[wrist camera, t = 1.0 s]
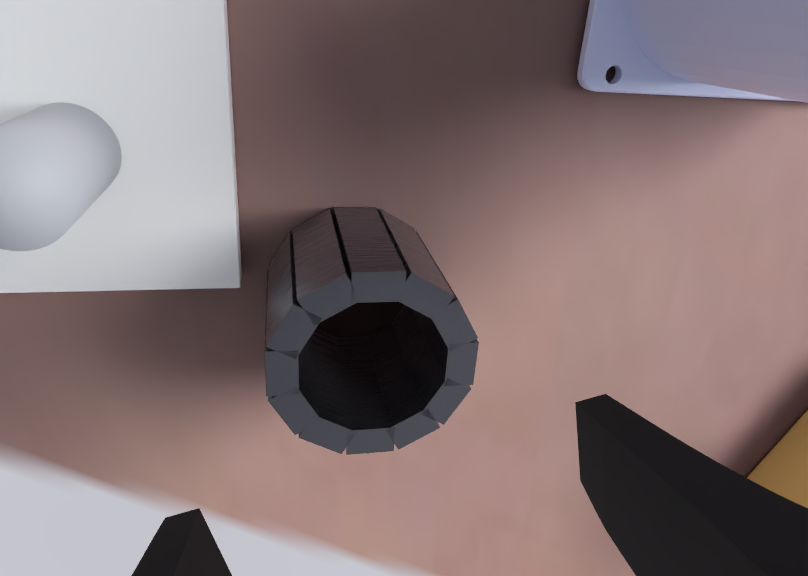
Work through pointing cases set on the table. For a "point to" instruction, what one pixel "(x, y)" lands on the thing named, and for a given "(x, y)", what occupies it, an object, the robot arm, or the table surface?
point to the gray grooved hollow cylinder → (363, 355)
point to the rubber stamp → (787, 465)
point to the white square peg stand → (116, 146)
